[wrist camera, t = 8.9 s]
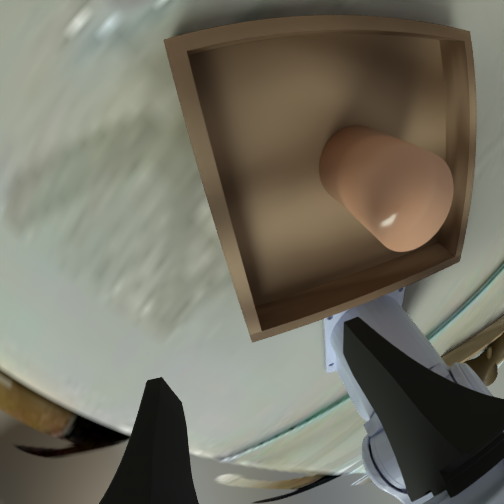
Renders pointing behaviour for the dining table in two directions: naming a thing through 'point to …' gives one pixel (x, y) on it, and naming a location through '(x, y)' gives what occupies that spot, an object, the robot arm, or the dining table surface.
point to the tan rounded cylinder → (387, 185)
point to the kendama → (488, 361)
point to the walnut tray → (319, 151)
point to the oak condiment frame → (476, 344)
